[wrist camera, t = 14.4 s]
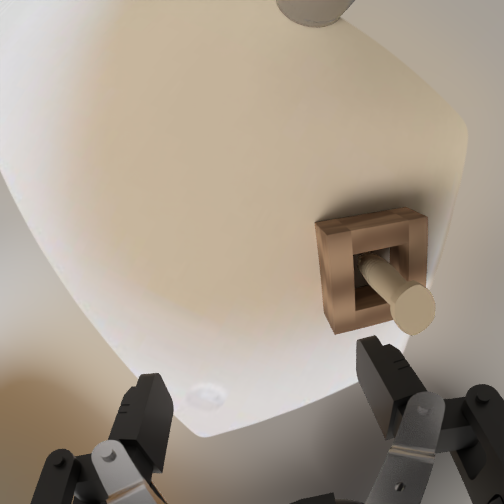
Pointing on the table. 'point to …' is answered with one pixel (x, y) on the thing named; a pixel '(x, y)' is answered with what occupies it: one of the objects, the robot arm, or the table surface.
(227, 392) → the table surface
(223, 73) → the table surface
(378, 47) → the table surface
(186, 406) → the table surface
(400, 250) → the wooden block
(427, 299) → the handle
